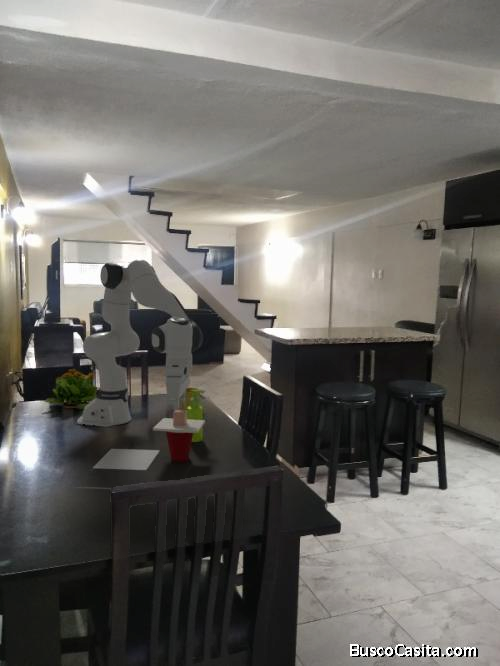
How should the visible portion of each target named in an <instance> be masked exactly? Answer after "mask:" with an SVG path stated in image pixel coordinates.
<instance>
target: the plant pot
mask: <svg viewBox="0 0 500 666" xmlns="http://www.w3.org/2000/svg"><path fill="white" fill-rule="evenodd" d="M195 389H198V390H200V388H196V387H188V388H187V389H186V395H185V401H184V402H179V406H180V410H187V407H189V406H190V399H191V398H192V397H193V392H191V390H195ZM200 395H201V393H200V392H197V397H198V398H199V399H200V397H201V396H200Z"/></svg>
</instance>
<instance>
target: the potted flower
mask: <svg viewBox="0 0 500 666" xmlns="http://www.w3.org/2000/svg"><path fill="white" fill-rule="evenodd" d="M94 377H95V373H93V372H89V373H88V374H87V375H85V374H83V373H82V372H81V371H78V370H76V369H75V368H73V369H68V372H65V373H64V374H62V375H61V376H58V377H56V379H54V380H55V388H53V389H52V392H53V394H54V395H55V396H56V398H55V397H50V398H46V399H45V400H44V401H43V402H45V403H48V404H56V405H61V406H63V407H65V408H64V409H66V408H76V409H77V410H84V408H85V406H86V405H88V404H89V403H90V402H91V401H92V400H94V399H95V398H96V397H97V396H96V395H95V392H96V391H97V390H98V389H99V388H98V387H97V386H95V385H94V384H92V383H93V379H94ZM63 407H62V408H63Z"/></svg>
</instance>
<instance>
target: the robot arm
mask: <svg viewBox="0 0 500 666" xmlns="http://www.w3.org/2000/svg"><path fill="white" fill-rule="evenodd" d="M100 282H101V284H102V285H103V288H104V293H103V299H102V300H103V301H102V309H101V316H102V319H103V321H104V322H106V323H108V324H109V325H110V331H105V332H96V333H94V334H90V335H88V336H85V339H84V341H83V343H82V349H83V352H84V354H85V355H86V357H87V358H89V359H90V360H91V361H93V363H94V364H95V366H96V367H97V370H98V373H99V374H98V375H99V388H98V390H97V391H96V392H95V395H96V396H97V397H96V398H95V399H94V400H92V401H89V404H88V405H86V406H85V407H84V408H83V409H82V410H83V411H82V415H81V416H80V417H78V418H77V420H76V423H77V425H83V424H85V425H86V426H93V425H95V427H105V428H108V427H109V428H110V427H112V426H117V425H122V424H123V425H124V424H126V423H129V422H130V421H132V417H131V413H130V409H129V403H128V402H129V388H128V387H127V383H128V382H127V381H128V380H127V370H126V369H125V368H124V367H123V366H121V365H119V364H117V361H116V360H117V359H116V357H122V356H123V357H124V356H128V355H130V354H134V353H136V352H138V349H139V348H140V344H141V341H140V337H139V335H138V334H137V332H136V331H135V330H133V328H132V325H131V322H130V311H131V303H132V295H133V298H134V299H135V301H136V302H137V303H138V304H140V305H141V306H143V307H145V308H150V309H154V310H157V311H158V310H159V311H162V312H165V313H167V314H168V315H170V316H171V317H170V318H169V319H167V321H166V323H164V324H162V325H160V326H155V328H154V329H153V330H152V332H151V334H150V343H151V347H152V348H153V350H155V351H156V352H157V353H161V354H166V356H165V368H164V370H163V373H164V376H165V385H166V397H167V399H168V400H171V402H172V409H173V410H174V411H175V410H180V402H184V401H185V395H186V389H187V388H190V383H191V376H190V373H191V372H193V353H192V352H196V351H197V350H198V349H199V348H200V347H201V346H202V343H203V341H204V335H203V331H202V330H201V328H200V326H199V325H197V323H196V322H194V320H193V319H192V317H191V316H190V315H189V313H188V312H187V310H186V309H185V307H184V305H183V304H182V303H181V301H180V300H179V298H178V296H176V295H175V294H174V293H173V292H171V291H170V290H169V289H167V288H166V287H165V286H164V285H163V284H162V282H161V281H160V279H159V277H158V275H157V273H156V271H155V269H154V266H152V265H151V264H150V263H149V262H148V261H147V260H144V259H142V258H141V259H135V260H133V261H129V262H114V261H111V262H106V263H105V264H103V265H102V267H101V270H100Z"/></svg>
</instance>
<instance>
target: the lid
mask: <svg viewBox="0 0 500 666" xmlns="http://www.w3.org/2000/svg"><path fill="white" fill-rule="evenodd" d="M172 413H173V414H172V418H170V417H169V418H167V417H163V418H162V419H161V420H160V421H159V422H158V423H157V424H155V425H154V426H153V428H152V431H154V432H166V431H169V432H186V433H198V432H199V431H200V429H201V428H202V426H204V425H205V424H206V420H205V419H203V420H190V419H187V410H181V409H178V410H174V411H173V412H172Z"/></svg>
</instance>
